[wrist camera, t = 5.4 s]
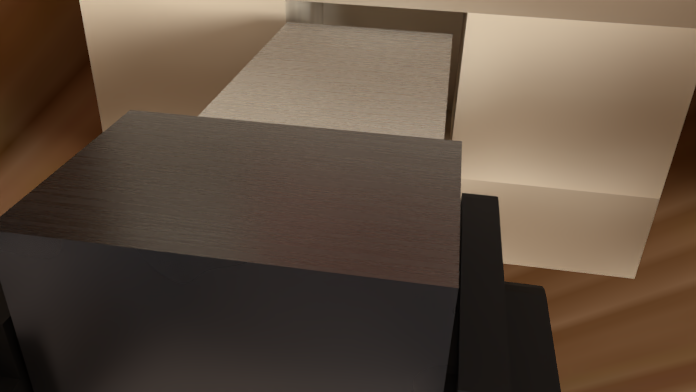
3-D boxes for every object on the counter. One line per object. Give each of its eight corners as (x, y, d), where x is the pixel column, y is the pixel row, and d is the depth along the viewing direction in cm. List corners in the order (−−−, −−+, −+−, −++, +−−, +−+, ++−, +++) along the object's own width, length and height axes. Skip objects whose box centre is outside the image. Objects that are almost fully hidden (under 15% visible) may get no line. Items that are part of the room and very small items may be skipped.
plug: (278, -13, 15) (-16, 230, 6) (465, -1, 15) (458, 287, 5) (283, 191, 18) (88, 571, 9) (440, 208, 17) (408, 634, 8)
